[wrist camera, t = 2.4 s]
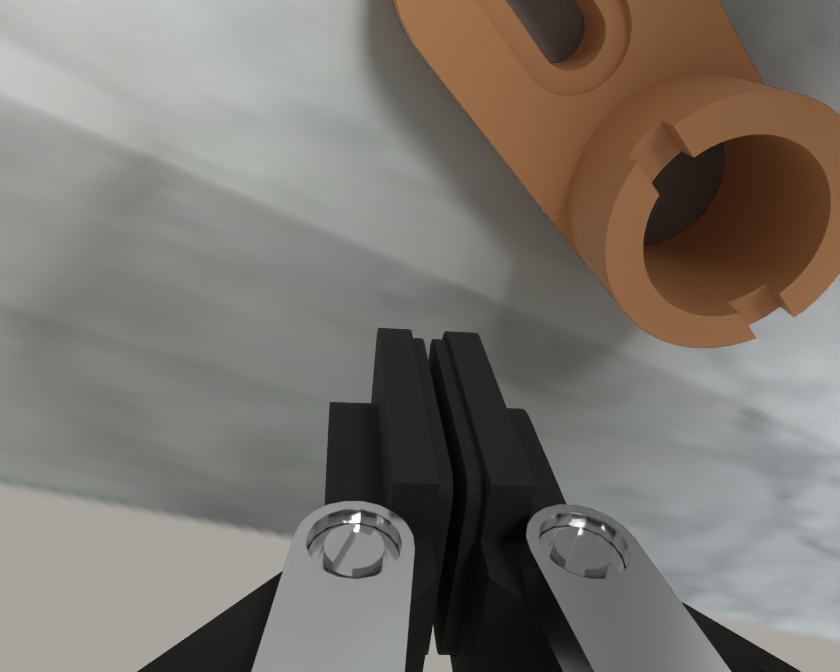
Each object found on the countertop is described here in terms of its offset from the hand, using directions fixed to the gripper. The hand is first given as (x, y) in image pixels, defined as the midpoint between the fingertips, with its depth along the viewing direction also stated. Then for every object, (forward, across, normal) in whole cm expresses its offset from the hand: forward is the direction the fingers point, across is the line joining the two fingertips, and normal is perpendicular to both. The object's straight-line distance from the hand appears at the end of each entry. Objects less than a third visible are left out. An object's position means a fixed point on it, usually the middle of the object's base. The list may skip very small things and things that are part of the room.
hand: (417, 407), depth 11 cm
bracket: (+16, -7, -4) cm, 19 cm away
